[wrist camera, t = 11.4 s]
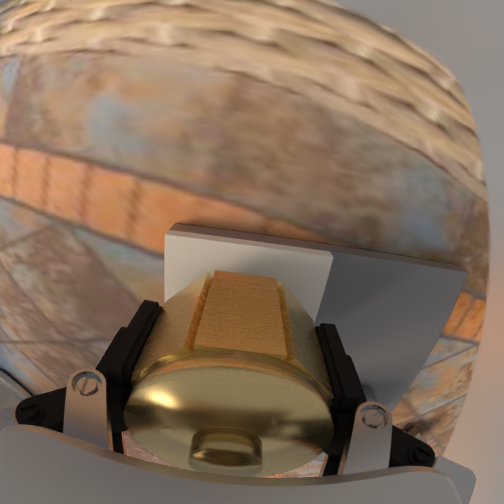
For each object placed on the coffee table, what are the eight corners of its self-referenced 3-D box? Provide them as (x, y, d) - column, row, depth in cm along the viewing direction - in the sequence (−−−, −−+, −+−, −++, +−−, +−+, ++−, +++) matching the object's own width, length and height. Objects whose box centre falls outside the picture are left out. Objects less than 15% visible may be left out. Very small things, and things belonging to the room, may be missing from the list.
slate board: (377, 416, 18) (380, 425, 18) (178, 408, 18) (175, 418, 17) (459, 265, 13) (468, 272, 12) (175, 223, 13) (168, 229, 12)
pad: (295, 367, 15) (296, 374, 14) (169, 351, 14) (167, 358, 14) (330, 251, 12) (333, 257, 11) (168, 229, 12) (165, 234, 11)
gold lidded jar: (326, 284, 10) (378, 411, 5) (290, 389, 12) (302, 496, 7) (163, 262, 10) (89, 379, 4) (167, 374, 12) (136, 478, 7)
